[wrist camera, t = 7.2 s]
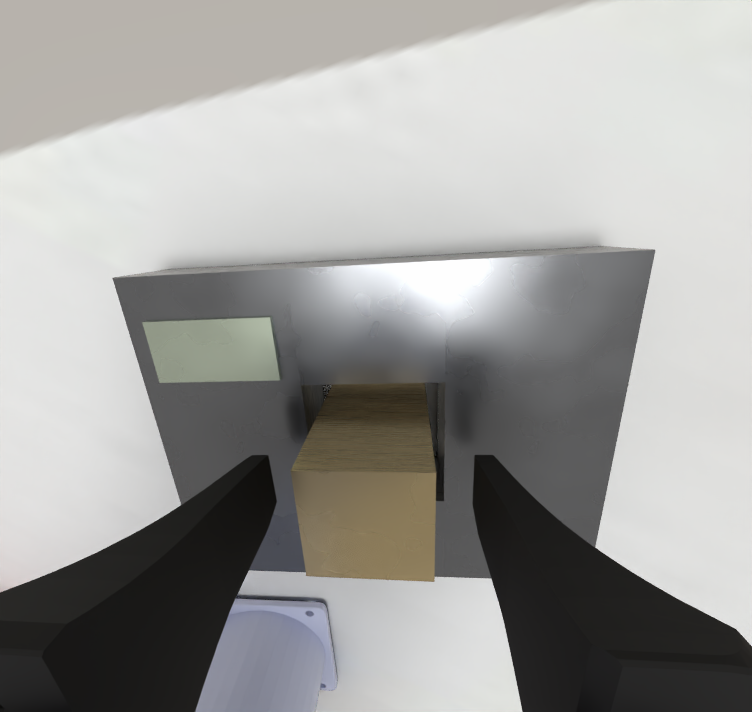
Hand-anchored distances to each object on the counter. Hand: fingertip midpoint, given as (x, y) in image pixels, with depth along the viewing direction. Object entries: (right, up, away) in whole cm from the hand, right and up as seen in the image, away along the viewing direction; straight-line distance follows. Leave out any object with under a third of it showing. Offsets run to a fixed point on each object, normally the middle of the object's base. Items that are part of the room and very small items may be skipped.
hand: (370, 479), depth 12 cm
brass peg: (0, +2, +5) cm, 5 cm away
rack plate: (0, +2, +5) cm, 5 cm away
